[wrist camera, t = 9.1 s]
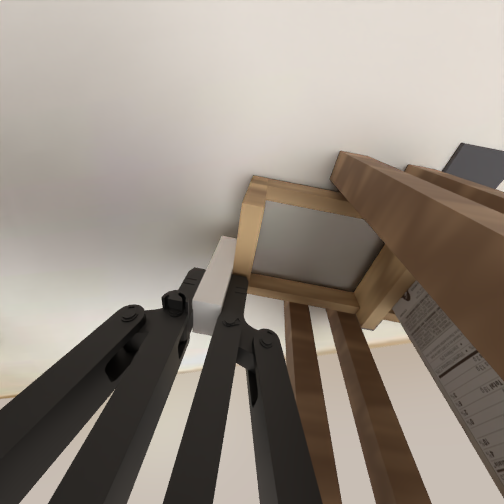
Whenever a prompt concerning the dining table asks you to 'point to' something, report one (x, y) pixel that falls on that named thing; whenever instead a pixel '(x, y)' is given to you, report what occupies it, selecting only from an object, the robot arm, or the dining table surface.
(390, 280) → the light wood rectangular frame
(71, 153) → the dining table surface
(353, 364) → the brown open upright frame
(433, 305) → the coffee box
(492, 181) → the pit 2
